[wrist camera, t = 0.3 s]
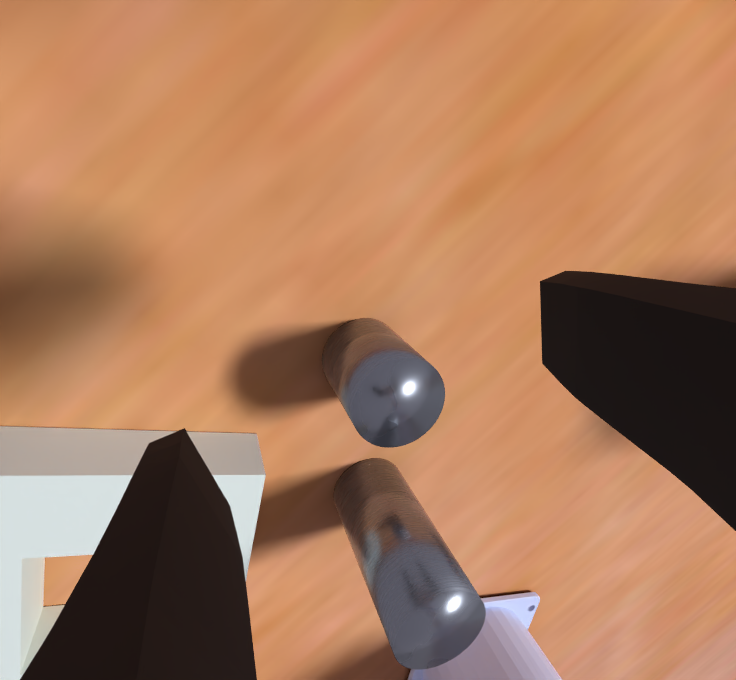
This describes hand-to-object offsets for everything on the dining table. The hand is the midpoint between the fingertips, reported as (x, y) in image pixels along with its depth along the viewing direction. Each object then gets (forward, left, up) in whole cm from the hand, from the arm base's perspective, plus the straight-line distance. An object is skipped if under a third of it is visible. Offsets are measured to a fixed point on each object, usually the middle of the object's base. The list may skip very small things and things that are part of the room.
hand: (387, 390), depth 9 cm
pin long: (-10, -6, -11) cm, 16 cm away
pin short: (-3, -4, -11) cm, 12 cm away
